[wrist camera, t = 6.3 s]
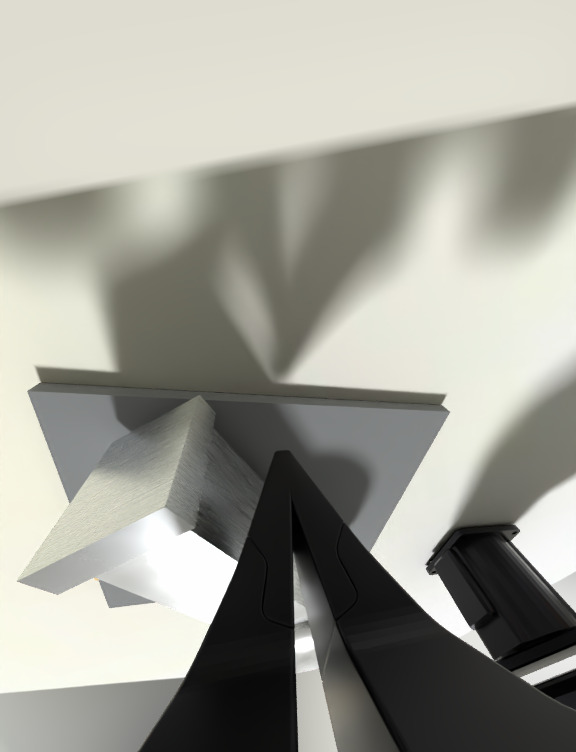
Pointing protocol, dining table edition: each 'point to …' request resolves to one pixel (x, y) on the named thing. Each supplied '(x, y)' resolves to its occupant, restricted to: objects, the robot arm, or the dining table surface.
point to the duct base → (255, 443)
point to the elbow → (163, 521)
